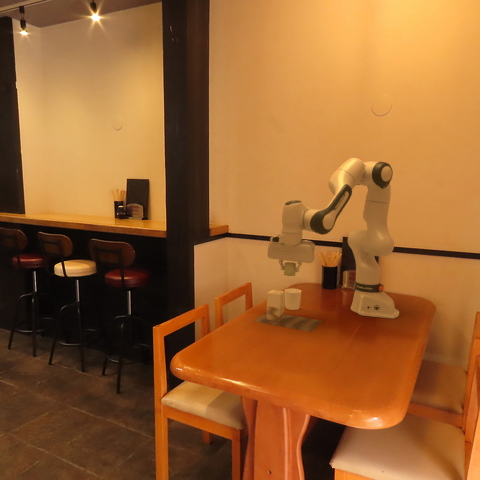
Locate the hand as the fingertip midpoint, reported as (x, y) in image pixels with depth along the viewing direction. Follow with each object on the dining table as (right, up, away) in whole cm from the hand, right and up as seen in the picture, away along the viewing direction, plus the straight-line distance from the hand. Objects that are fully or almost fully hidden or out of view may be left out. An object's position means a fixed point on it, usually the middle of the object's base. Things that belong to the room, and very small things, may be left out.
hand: (289, 270), depth 178 cm
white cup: (+4, -21, +23) cm, 31 cm away
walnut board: (0, -24, +4) cm, 24 cm away
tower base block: (-6, -22, +6) cm, 23 cm away
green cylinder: (0, -2, 0) cm, 2 cm away
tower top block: (-6, -16, +5) cm, 17 cm away
